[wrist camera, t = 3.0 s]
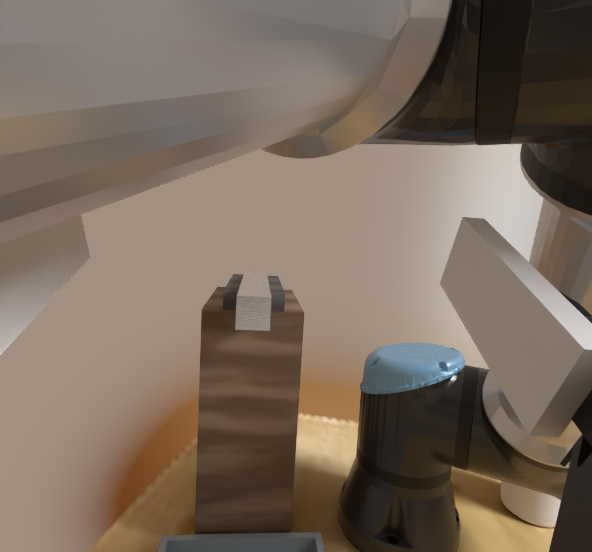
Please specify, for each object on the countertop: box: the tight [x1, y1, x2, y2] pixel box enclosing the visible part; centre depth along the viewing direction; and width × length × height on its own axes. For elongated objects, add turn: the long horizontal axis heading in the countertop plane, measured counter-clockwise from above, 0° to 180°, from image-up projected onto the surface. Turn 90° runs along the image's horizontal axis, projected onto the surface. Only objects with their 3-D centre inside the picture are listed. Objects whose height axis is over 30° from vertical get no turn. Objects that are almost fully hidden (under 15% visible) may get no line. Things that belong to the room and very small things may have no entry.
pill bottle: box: [500, 481, 561, 528], centre depth 54 cm, size 8×8×15 cm
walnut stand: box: [195, 274, 304, 534], centre depth 51 cm, size 16×11×30 cm
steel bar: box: [235, 271, 271, 331], centre depth 44 cm, size 20×3×3 cm, turn 5°
